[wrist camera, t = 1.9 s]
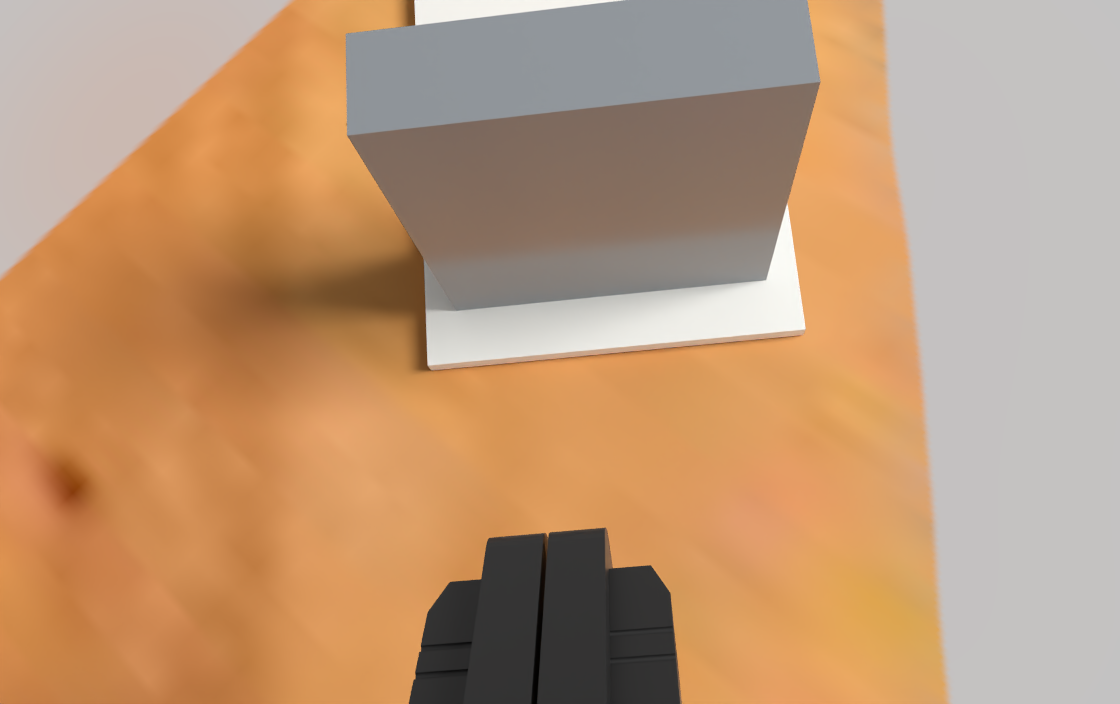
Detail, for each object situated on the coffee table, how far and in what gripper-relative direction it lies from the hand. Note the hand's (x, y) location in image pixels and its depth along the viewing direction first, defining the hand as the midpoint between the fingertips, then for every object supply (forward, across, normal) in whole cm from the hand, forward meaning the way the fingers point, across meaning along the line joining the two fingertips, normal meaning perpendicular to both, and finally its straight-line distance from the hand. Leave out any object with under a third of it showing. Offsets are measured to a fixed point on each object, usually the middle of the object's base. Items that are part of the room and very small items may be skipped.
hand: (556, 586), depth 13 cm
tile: (+21, 0, +4) cm, 21 cm away
